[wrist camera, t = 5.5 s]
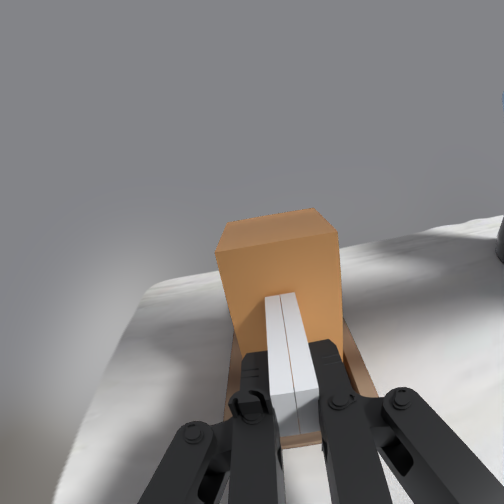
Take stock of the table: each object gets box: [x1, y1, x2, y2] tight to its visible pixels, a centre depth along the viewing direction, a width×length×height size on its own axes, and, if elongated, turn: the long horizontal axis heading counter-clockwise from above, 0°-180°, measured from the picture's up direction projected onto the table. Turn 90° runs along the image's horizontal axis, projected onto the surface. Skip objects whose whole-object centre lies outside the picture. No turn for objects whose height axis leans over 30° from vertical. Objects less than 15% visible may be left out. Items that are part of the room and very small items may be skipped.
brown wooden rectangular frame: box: [223, 318, 379, 449], centre depth 23 cm, size 22×9×2 cm, turn 0°
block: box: [215, 208, 343, 387], centre depth 18 cm, size 6×6×10 cm
